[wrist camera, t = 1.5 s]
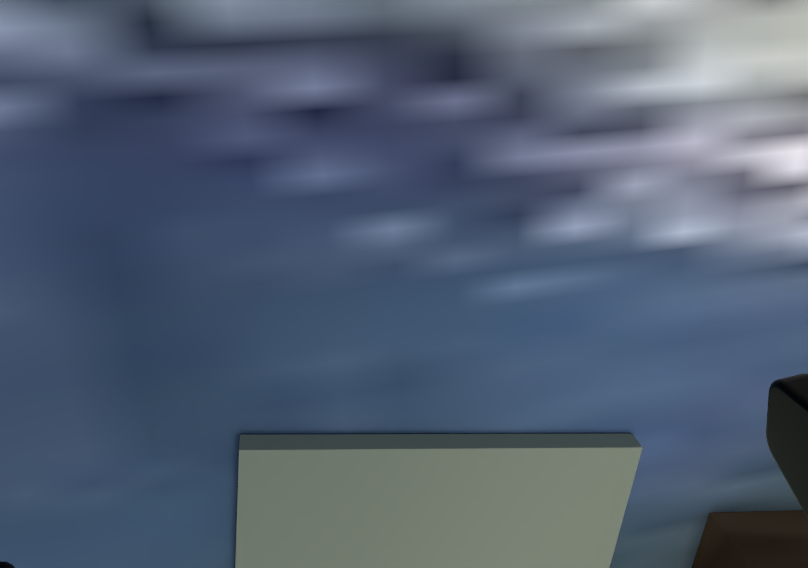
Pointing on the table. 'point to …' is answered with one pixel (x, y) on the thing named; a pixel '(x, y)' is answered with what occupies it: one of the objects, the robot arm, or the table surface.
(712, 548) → the two-tone brown block
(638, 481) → the table surface
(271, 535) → the mat
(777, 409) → the robot arm
